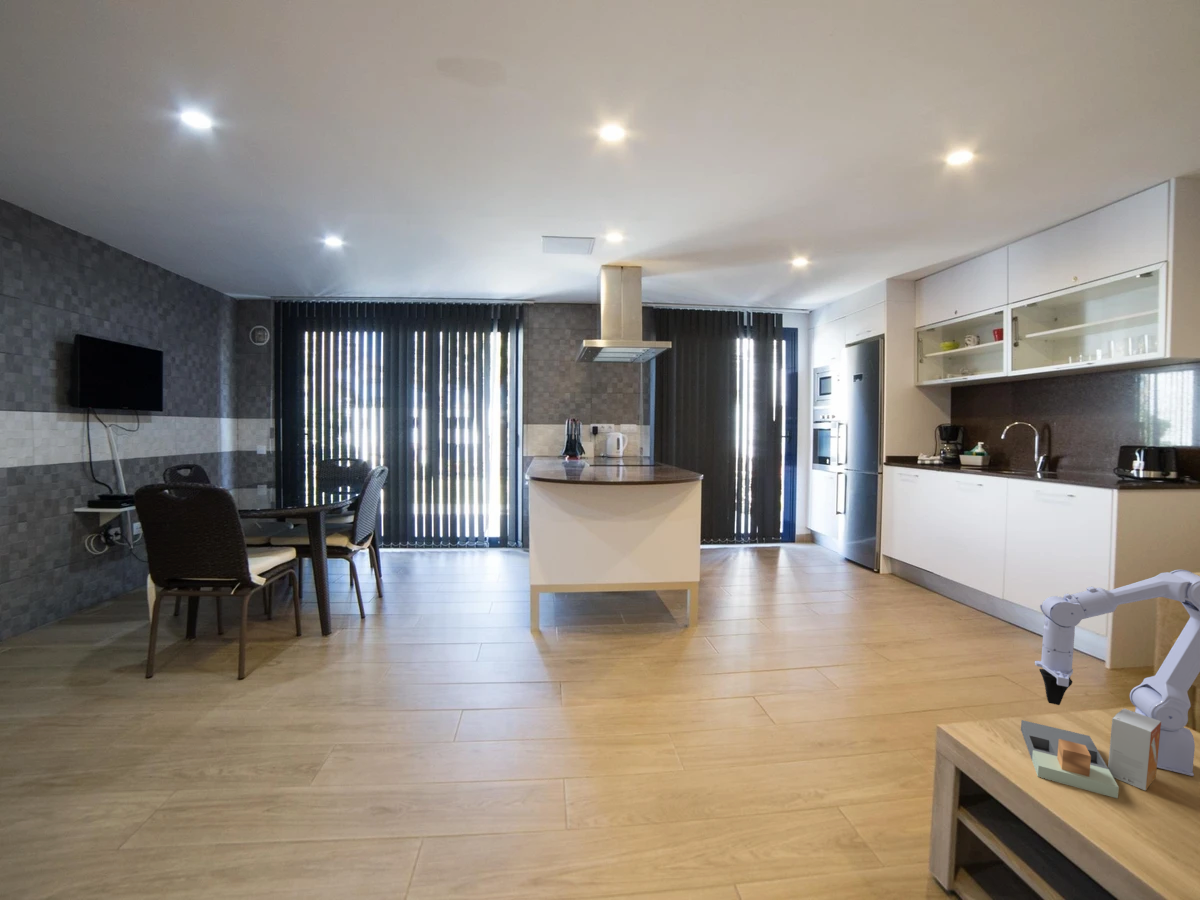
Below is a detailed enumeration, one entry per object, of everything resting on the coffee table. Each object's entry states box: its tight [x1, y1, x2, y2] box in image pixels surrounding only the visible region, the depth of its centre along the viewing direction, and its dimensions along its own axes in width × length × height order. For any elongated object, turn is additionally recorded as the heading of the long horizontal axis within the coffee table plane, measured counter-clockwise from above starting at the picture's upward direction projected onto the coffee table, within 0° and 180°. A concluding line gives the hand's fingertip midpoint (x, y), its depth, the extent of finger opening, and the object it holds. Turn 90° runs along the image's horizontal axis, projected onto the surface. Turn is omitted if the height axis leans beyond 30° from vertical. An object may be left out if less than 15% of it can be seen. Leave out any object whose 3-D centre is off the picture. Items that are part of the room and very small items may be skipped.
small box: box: [1107, 708, 1161, 791], centre depth 119 cm, size 8×6×13 cm
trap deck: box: [1020, 719, 1120, 799], centre depth 124 cm, size 13×21×2 cm, turn 150°
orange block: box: [1057, 739, 1091, 777], centre depth 118 cm, size 4×4×4 cm
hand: (1053, 702), depth 132 cm, fingers closed
